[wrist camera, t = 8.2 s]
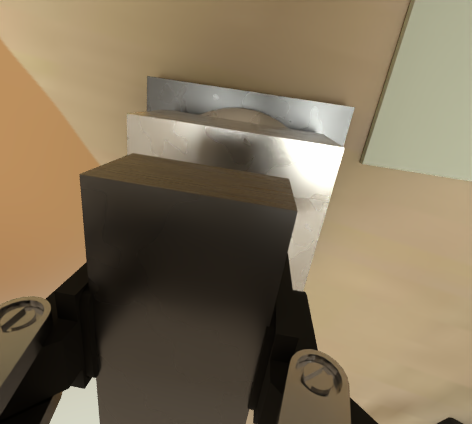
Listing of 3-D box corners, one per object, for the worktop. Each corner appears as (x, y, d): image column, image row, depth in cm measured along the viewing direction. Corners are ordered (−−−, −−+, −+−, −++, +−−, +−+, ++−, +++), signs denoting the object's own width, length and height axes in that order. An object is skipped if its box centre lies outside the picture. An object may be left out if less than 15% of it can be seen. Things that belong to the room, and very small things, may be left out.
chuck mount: (158, 78, 19) (147, 76, 17) (346, 106, 19) (354, 107, 17) (154, 240, 24) (145, 252, 23) (301, 267, 24) (304, 281, 22)
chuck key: (194, 128, 14) (79, 174, 6) (279, 142, 14) (298, 210, 5) (182, 273, 18) (101, 440, 9) (251, 286, 18) (234, 469, 9)
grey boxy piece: (160, 95, 18) (107, 93, 12) (334, 122, 17) (368, 134, 11) (156, 245, 22) (115, 299, 16) (295, 270, 21) (305, 335, 16)
